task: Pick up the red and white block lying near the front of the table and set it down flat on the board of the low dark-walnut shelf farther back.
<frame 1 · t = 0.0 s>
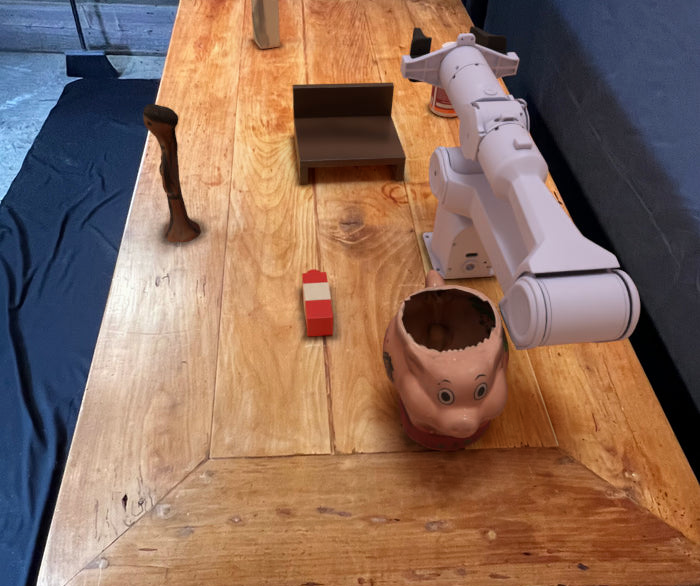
hand: (443, 34, 83), 21 cm above the table, tool horizontal, fingers open, 7 cm apart
red and white block: (317, 312, 77), on the table
decorative planter: (437, 403, 68), on the table, touching arm
pill bottle: (446, 111, 113), on the table
box: (267, 45, 130), on the table
figurine: (183, 230, 87), on the table
shelf: (346, 158, 101), on the table
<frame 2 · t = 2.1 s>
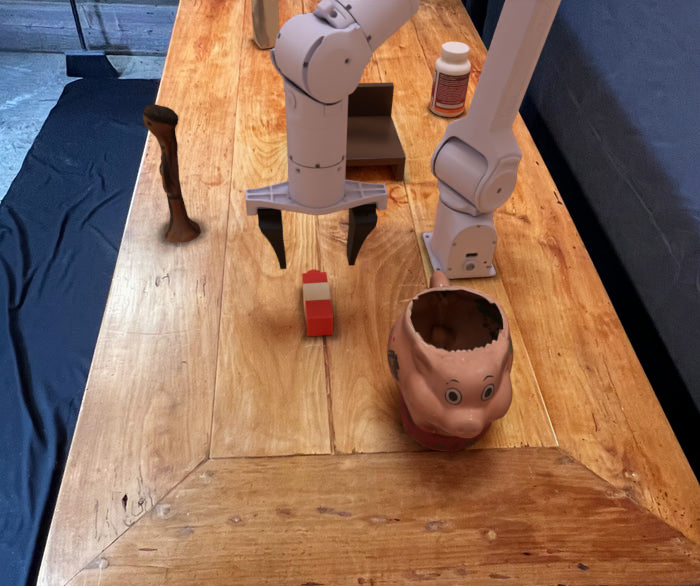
hand: (316, 261, 71), 8 cm above the table, tool pointing down, fingers open, 7 cm apart
decorative planter: (437, 404, 68), on the table
everything else where it was.
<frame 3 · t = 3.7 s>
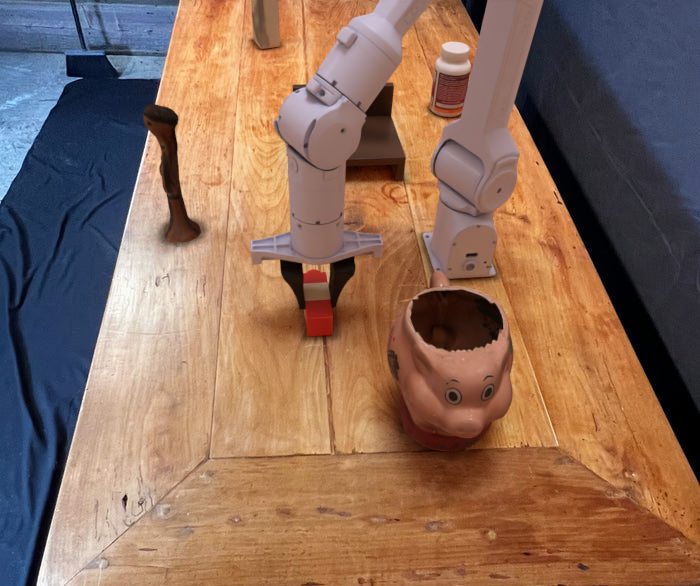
hand: (317, 303, 75), 2 cm above the table, tool pointing down, fingers closed on red and white block, 3 cm apart
red and white block: (317, 312, 77), on the table, touching gripper
everything else where it was.
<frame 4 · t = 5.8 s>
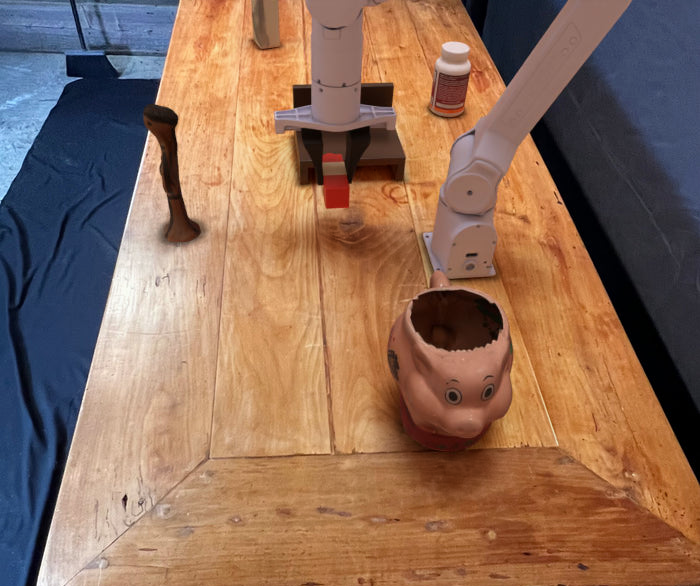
hand: (334, 180, 81), 8 cm above the table, tool pointing down, fingers closed on red and white block, 3 cm apart
red and white block: (333, 190, 82), point 7 cm above the table, touching gripper
everything else where it was.
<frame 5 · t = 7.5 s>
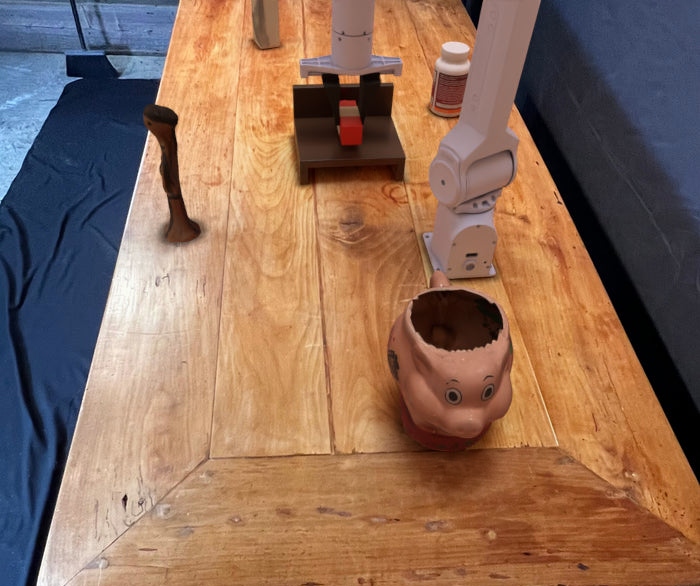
hand: (348, 122, 95), 7 cm above the table, tool pointing down, fingers closed on red and white block, 3 cm apart
red and white block: (348, 131, 96), point 5 cm above the table, touching gripper
everything else where it was.
when the fingers open (6 cm above the table, at t = 8.2 s): red and white block stays where it is, resting on shelf.
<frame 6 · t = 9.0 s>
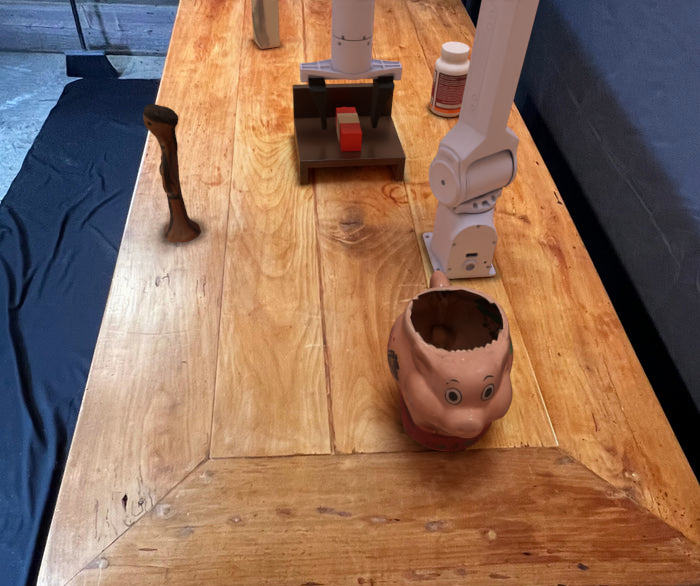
hand: (348, 125, 96), 6 cm above the table, tool pointing down, fingers open, 7 cm apart
red and white block: (348, 138, 97), point 4 cm above the table, touching shelf
everything else where it was.
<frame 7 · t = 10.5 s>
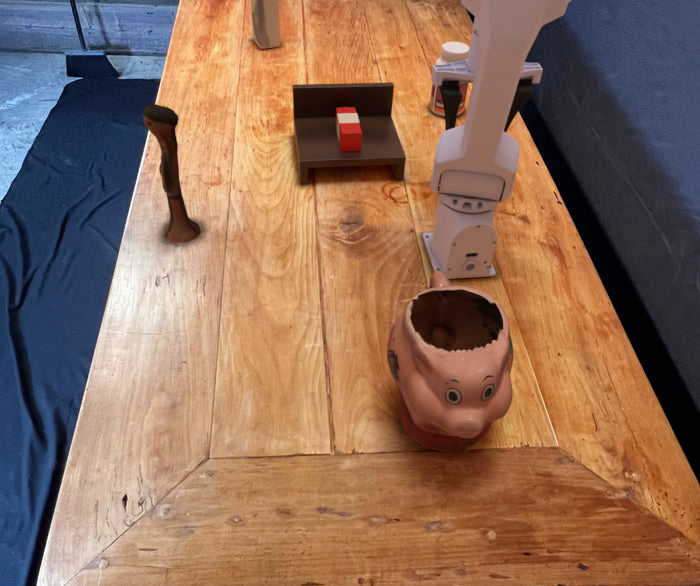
hand: (475, 132, 89), 9 cm above the table, tool pointing down, fingers open, 7 cm apart
nothing on the table moved.
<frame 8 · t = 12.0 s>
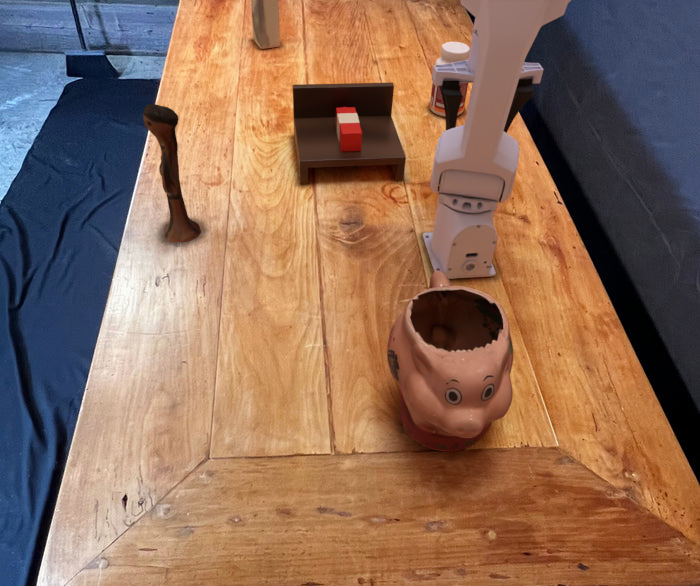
hand: (475, 132, 89), 9 cm above the table, tool pointing down, fingers open, 7 cm apart
nothing on the table moved.
at the end: red and white block inside the target area on the shelf (0.5 cm from its centre), point 4.0 cm above the shelf's base; red and white block tilted 0°; the gripper is holding nothing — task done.
